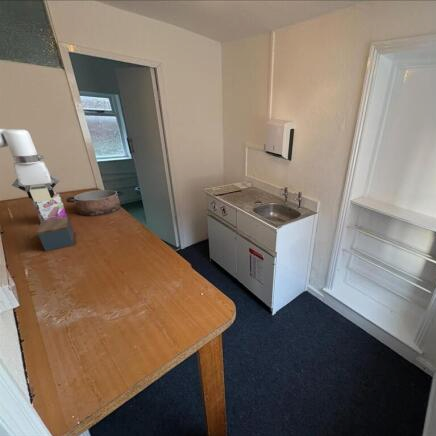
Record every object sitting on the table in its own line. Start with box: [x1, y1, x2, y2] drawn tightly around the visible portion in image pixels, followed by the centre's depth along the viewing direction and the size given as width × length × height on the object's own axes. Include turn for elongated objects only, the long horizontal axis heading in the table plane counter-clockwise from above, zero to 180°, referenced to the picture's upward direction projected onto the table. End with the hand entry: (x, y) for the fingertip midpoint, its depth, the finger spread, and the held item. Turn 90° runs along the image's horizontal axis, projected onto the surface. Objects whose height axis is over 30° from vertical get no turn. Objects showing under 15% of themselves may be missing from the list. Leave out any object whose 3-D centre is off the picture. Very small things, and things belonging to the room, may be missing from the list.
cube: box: [29, 185, 52, 202], centre depth 108 cm, size 6×6×6 cm
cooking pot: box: [66, 189, 125, 217], centre depth 155 cm, size 30×22×11 cm
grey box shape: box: [36, 215, 75, 252], centre depth 116 cm, size 10×16×10 cm, turn 39°
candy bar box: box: [31, 192, 68, 223], centre depth 136 cm, size 11×5×16 cm, turn 154°
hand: (42, 197), depth 109 cm, fingers closed on cube, 5 cm apart
